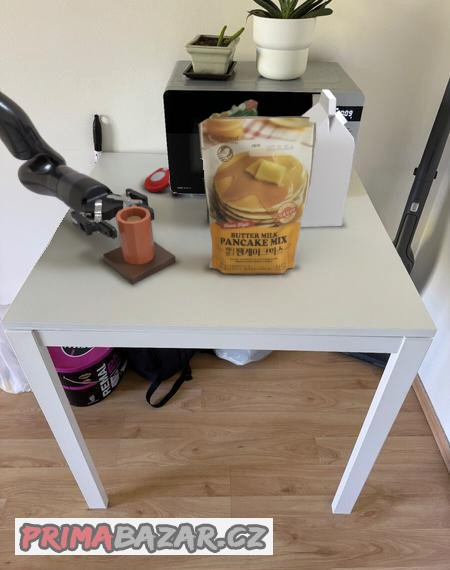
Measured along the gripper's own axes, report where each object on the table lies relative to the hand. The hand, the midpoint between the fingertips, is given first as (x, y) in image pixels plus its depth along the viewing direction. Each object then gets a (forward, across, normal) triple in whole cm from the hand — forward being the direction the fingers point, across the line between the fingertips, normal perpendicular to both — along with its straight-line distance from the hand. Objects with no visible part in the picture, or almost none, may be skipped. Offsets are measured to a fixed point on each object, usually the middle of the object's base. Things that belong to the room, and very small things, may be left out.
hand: (134, 224), depth 81 cm
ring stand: (0, 0, +8) cm, 9 cm away
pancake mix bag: (+16, +14, +9) cm, 23 cm away
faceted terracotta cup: (0, 0, +7) cm, 7 cm away
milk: (+13, +39, +9) cm, 42 cm away
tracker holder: (-20, +24, +9) cm, 32 cm away
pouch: (+2, +24, +9) cm, 26 cm away
